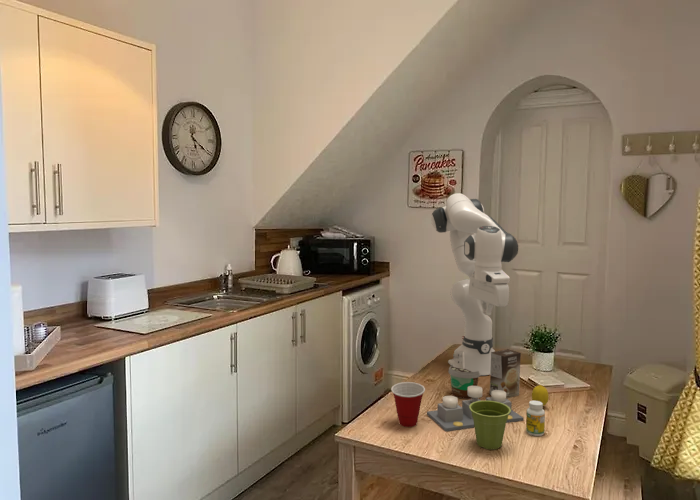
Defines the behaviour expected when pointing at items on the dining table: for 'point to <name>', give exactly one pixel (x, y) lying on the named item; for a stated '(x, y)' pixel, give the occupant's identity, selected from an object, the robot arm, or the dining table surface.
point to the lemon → (540, 394)
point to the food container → (462, 381)
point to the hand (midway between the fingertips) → (486, 314)
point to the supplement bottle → (535, 419)
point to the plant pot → (489, 422)
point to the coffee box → (505, 372)
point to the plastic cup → (408, 402)
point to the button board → (463, 416)
